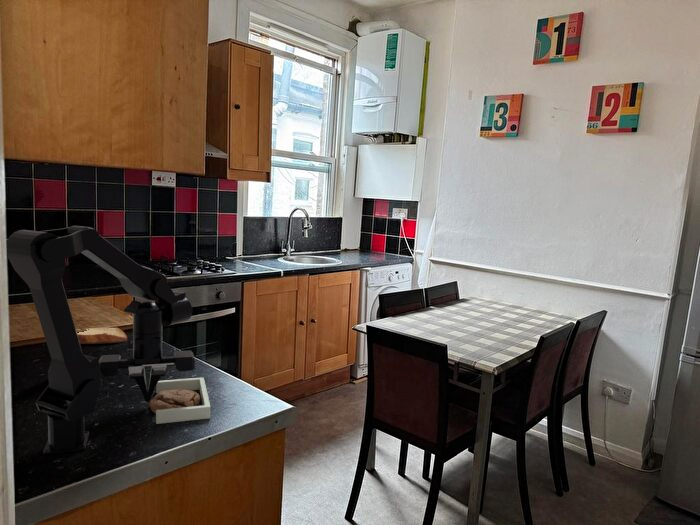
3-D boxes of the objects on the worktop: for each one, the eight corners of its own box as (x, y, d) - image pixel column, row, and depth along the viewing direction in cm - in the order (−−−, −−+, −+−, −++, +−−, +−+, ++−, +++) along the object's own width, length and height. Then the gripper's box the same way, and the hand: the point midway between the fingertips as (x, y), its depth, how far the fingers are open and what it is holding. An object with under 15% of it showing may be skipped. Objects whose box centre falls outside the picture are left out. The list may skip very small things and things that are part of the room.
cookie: (209, 405, 111) (209, 392, 110) (166, 421, 102) (166, 407, 102) (182, 393, 116) (182, 380, 116) (140, 407, 108) (139, 393, 108)
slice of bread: (43, 340, 149) (43, 328, 149) (103, 329, 163) (103, 318, 163) (72, 354, 139) (72, 341, 138) (133, 341, 153) (133, 329, 152)
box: (210, 418, 104) (210, 406, 104) (156, 423, 100) (156, 412, 100) (203, 387, 120) (203, 377, 119) (156, 391, 116) (156, 381, 116)
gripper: (191, 319, 116) (190, 383, 118) (102, 322, 109) (102, 390, 111) (195, 332, 106) (194, 403, 108) (96, 337, 99) (97, 412, 101)
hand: (147, 401), depth 107 cm, fingers closed
